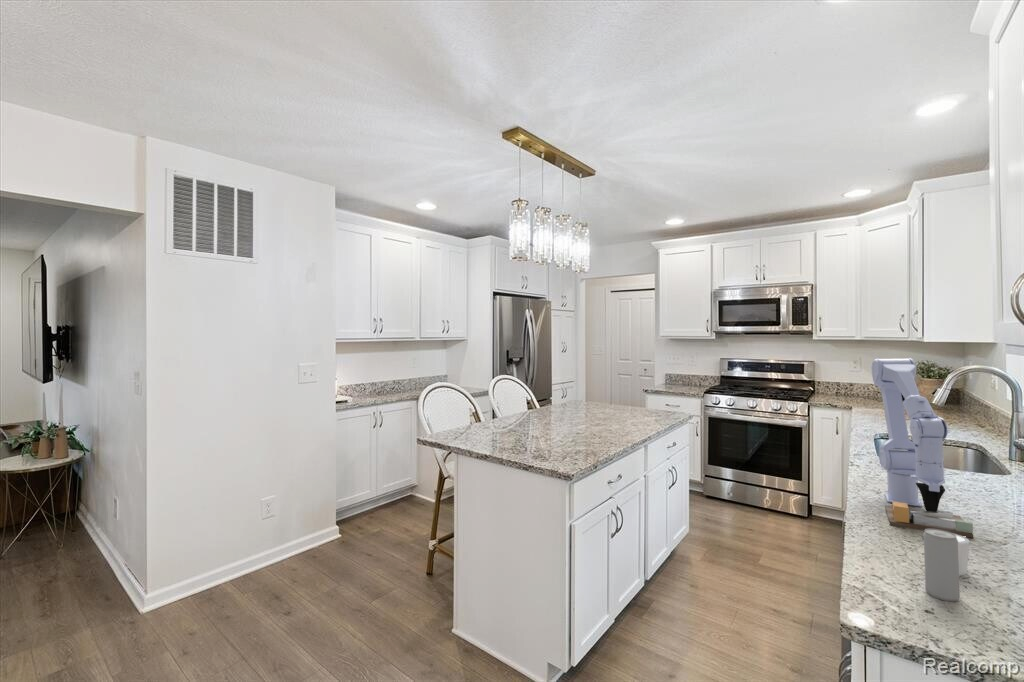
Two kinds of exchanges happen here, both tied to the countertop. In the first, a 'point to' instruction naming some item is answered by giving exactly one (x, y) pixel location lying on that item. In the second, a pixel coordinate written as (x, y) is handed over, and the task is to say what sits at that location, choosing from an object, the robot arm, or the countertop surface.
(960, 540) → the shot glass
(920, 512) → the tong arm
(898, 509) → the collar
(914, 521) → the tong board
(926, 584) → the beverage can
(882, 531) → the countertop surface
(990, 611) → the countertop surface
